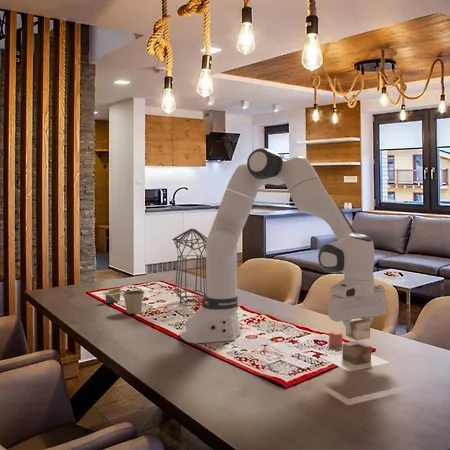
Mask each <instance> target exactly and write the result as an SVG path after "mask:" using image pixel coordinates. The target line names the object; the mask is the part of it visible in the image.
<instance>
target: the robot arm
mask: <svg viewBox="0 0 450 450" xmlns="http://www.w3.org/2000/svg"><path fill="white" fill-rule="evenodd" d="M264 185H265V187H285V186H286V187H287V190H288V193H289V195H290V197H291V200H292V202H293V204H294V205H295V207H296V208H297V209H298V210H299V211H301V212H302V213H304V214H307V215H310V216H311V215H312V216H314V217H317V218H319V219H321V220H322V221H324V222H325V223H326V224H327V225H328V226H329V228H330V229H331V231H332V232H333V234H334V236H335V237H336V241H333V242H329V243H328V242H327V243H326V244H323V245H322V246H321V247H320V249H319V250H318V251H319V252H318V256H317V261H318V264H319V266H320V268H321V269H322V270H323V271H324V272H326V273H331V274H337V273H342V274H343V280H341V281H340V282H338V283H335V284H334V285H332V286H331V287H330V288H329V294H331V295H330V297H329V300H328V310H327V314H328V315H327V316H328V318H329V319H330V320H331V321H334V322H336V323H337V322H338V323H339V322H342V323H343V326H344V327H345V334H346V333H348V334H351V333H353V328H352V327H351V326H350V324H349V323H351V320H352V319H358V318H361V319H365V320H366V321H369V322H370V325H371V324H372V322H373V320H374V317H375V316H376V317H377V316H382V315H385V314H386V313H387V298H386V297H387V296H386V293H385V292H386V289H385V288H384V286H383V285H381V284H376V285H375V276H374V267H375V245H374V241H373V240H372V237H370V236H369V235H367V234H363V233H357V232H356V231H355V229H353V228H354V227H352V224H351V223H350V221H349V220H348V218H347V216H346V215H345V213H344V212H343V210H342V208H341V207H340V206H339V204H338V203H337V202H336V200H334V199H333V197H331V195H330V194H329V193H328V191H327V189H326V188H325V187H324V185H323V183H322V180H321V179H320V176H319V175H318V173H317V171H316V169H315V167H314V166H313V165H312V163H311V162H310V161H309V159H308V158H306V157H304V156H301V155H300V156H299V155H298V156H294V157H292V158H290V159H288V158H286V157H285V156H283V155H282V154H280V153H277V152H275V151H273V150H271V149H269V148H257V149H254V150H253V151H252V152H251V153H250V154H249V155H248V157H247V161H246V163H242V164H239V165H238V166H237V167H236V169H235V170H234V172H233V173H232V176H231V177H230V180H229V182H228V183H227V186H226V189H225V191H224V194H223V197H222V199H221V202H220V204H219V207H218V208H217V213H216V215H215V218H214V219H213V220H214V221H213V223H212V225H211V228H210V231H209V233H208V236H207V240H206V241H207V242H206V243H205V244H206V245H205V246H206V251H205V258H206V273H207V295H206V296H205V298H204V299H203V297H197V298H196V300H197V301H198V302H200V303H202V304H201V306H200V307H199V308H198V309H197V310H195V312H194V313H193V314H191V315H190V316H189V317H188V318H187V320H186V325H185V329H184V330H183V329H182V330H180V332H179V337H180V338H181V339H182V340H184V341H185V342H187V343H190V344H195V345H197V344H205V343H206V344H207V343H219V342H229V341H232V342H234V341H235V340H236V339H237V337H240V335H241V334H242V333H241V328H240V324H239V317H238V309H239V307H238V306H239V304H238V303H239V301H238V300H239V299H238V295H237V291H238V289H237V285H238V284H237V280H238V279H237V276H238V275H237V272H238V266H237V265H238V242H239V239H240V237H241V233H242V232H243V230H244V227H245V224H246V223H247V220H248V217H249V215H250V213H251V210H252V207H253V205H254V202H255V200H256V197H257V194H258V192H259V189H260V188H261V187H262V186H264ZM197 301H196V302H197ZM198 302H197V303H198ZM200 303H199V304H200Z"/></svg>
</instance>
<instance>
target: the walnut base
mask: <svg viewBox="0 0 450 450" xmlns="http://www.w3.org/2000/svg"><path fill="white" fill-rule="evenodd" d="M371 354H372V346H371V345H369V344H367V343H365V342H362V341H361V340H354V341H353V340H352V341H348V342H342V354H341V355H342V359H344V360H346V361H348V362H350V363H352V364H354V365H360V364H364V363H369V362H371Z"/></svg>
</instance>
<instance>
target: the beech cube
mask: <svg viewBox="0 0 450 450" xmlns="http://www.w3.org/2000/svg"><path fill="white" fill-rule="evenodd" d="M349 324H350V326H351V327H352V328H353V333H351V334H348V333H346V332H345V336H346V337H348V338H350V339H353V340H354V341H362V340H366V339H370V338H371V324H370V322H369V321H366V319H364V318H358V319H352V320H351V323H349Z"/></svg>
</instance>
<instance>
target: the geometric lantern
mask: <svg viewBox="0 0 450 450" xmlns="http://www.w3.org/2000/svg"><path fill="white" fill-rule="evenodd" d="M190 234H191V238H190V239H188V238H189V237H190ZM193 237H195V238H193ZM207 238H208V236H205V234H203V233H201V232H200V231H198V230H197V229H195V228H189V229H188V230H185V231H184V232H182V233H180V234H179V235H177V236H176V237H174V238H172V241H173V242H174V245H175V247H176V250H177V253H180V255H179V254H177V261H176V271H175V272H176V273H175V275H176V276H175V286H174V293H175V295H176V296H177V297H178V298H179V304H181V305H182V306H184V307H193V306H199V305H198V304H200V302H198V301H197V298H198V297H202V298H203V299H204V298H205V296H206V295H207V273H206V253H204V252H206V242H207ZM200 240H202V242H199V241H200ZM189 244H190V245H189ZM201 244H203V245H201ZM181 245H183V249H182V251H181V249H180V247H181ZM194 245H198V247H197V248H195V247H194ZM200 245H201V246H200ZM186 247H189V248H190V250H189V252H188V253H187V254H186V255H185V256H184V255H183V253H184V251H185V249H186ZM201 248H203V249H202V250H201ZM196 250H199V253H200V255H199V254H197V252H196ZM192 251H193V253H195V254H194V255H193V254H191V255H190V253H191V252H192ZM203 253H204V256H203ZM188 257H196V258H192V260H196V266H195V267H196V269H195V271H196V272H195V286H194V287H195V288H194V289H193V290H187V258H188ZM198 262H199V263H198ZM184 265H185V266H184ZM198 265H199V277H200V279H199V285H200V287H199V288H200V290H199V289H197V286H198V284H197V283H198ZM184 271H185V272H184ZM183 272H184V273H185V274H184V279H185V280H184V282H185V283H184V285H185V286H184V290H182V285H183ZM202 277H203V278H202ZM202 279H203V283H202ZM202 284H203V287H202ZM202 288H203V289H202ZM187 292H194V295H187ZM196 292H199V293H197V294H196ZM182 293H184V294H185V295H182ZM201 293H202V294H203V295H200V294H201ZM188 298H189V299H190V298H193V300H188ZM189 302H197V303H195V304H189Z"/></svg>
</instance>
